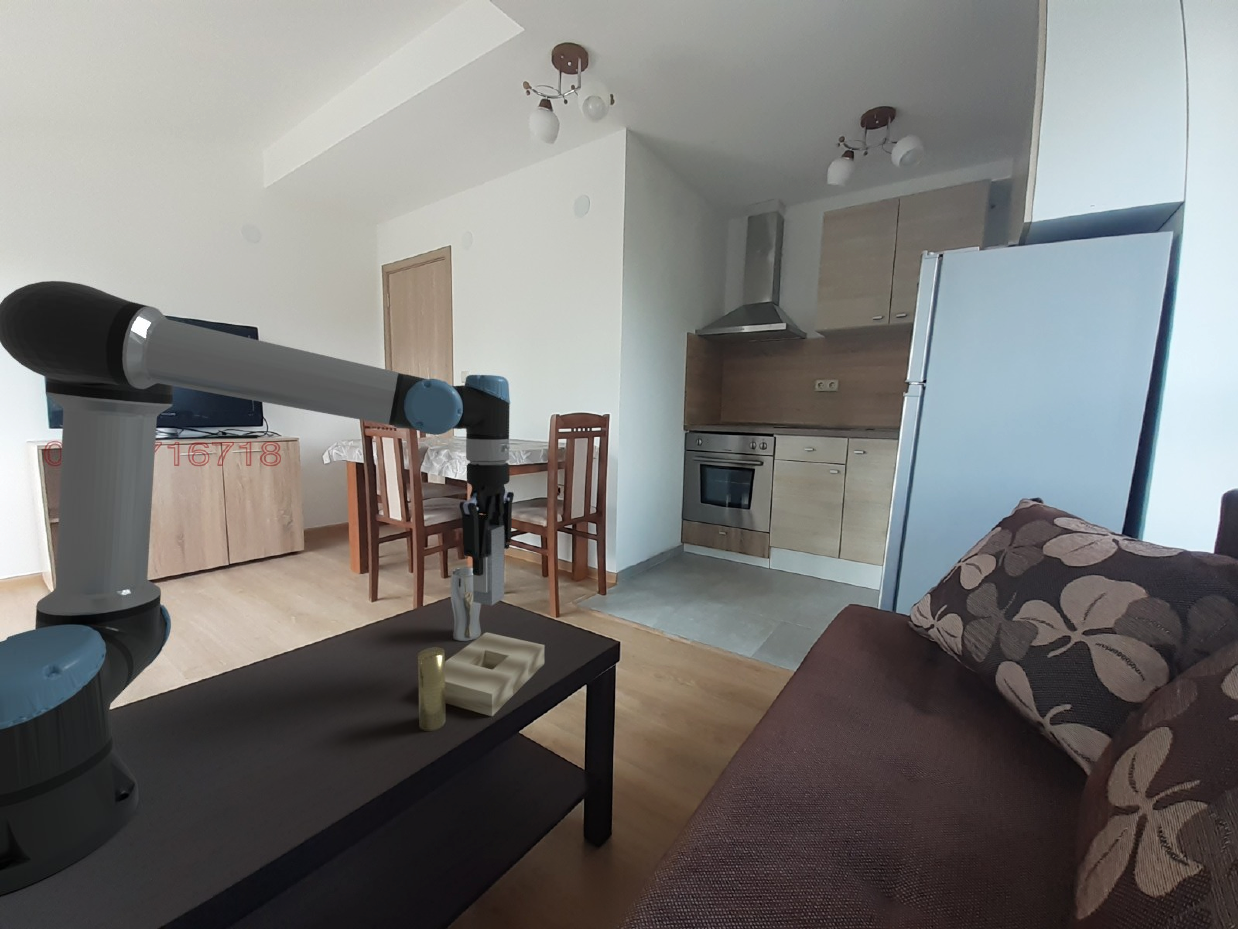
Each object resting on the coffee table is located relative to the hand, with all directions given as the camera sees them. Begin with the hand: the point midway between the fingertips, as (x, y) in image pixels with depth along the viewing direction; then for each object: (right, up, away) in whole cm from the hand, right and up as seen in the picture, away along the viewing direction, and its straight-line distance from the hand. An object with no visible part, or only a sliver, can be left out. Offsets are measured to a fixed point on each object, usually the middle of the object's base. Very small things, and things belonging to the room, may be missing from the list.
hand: (488, 586), depth 88 cm
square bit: (0, -3, 0) cm, 3 cm away
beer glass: (-10, -16, +19) cm, 27 cm away
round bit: (-6, -20, -11) cm, 23 cm away
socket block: (-1, -18, +2) cm, 18 cm away
